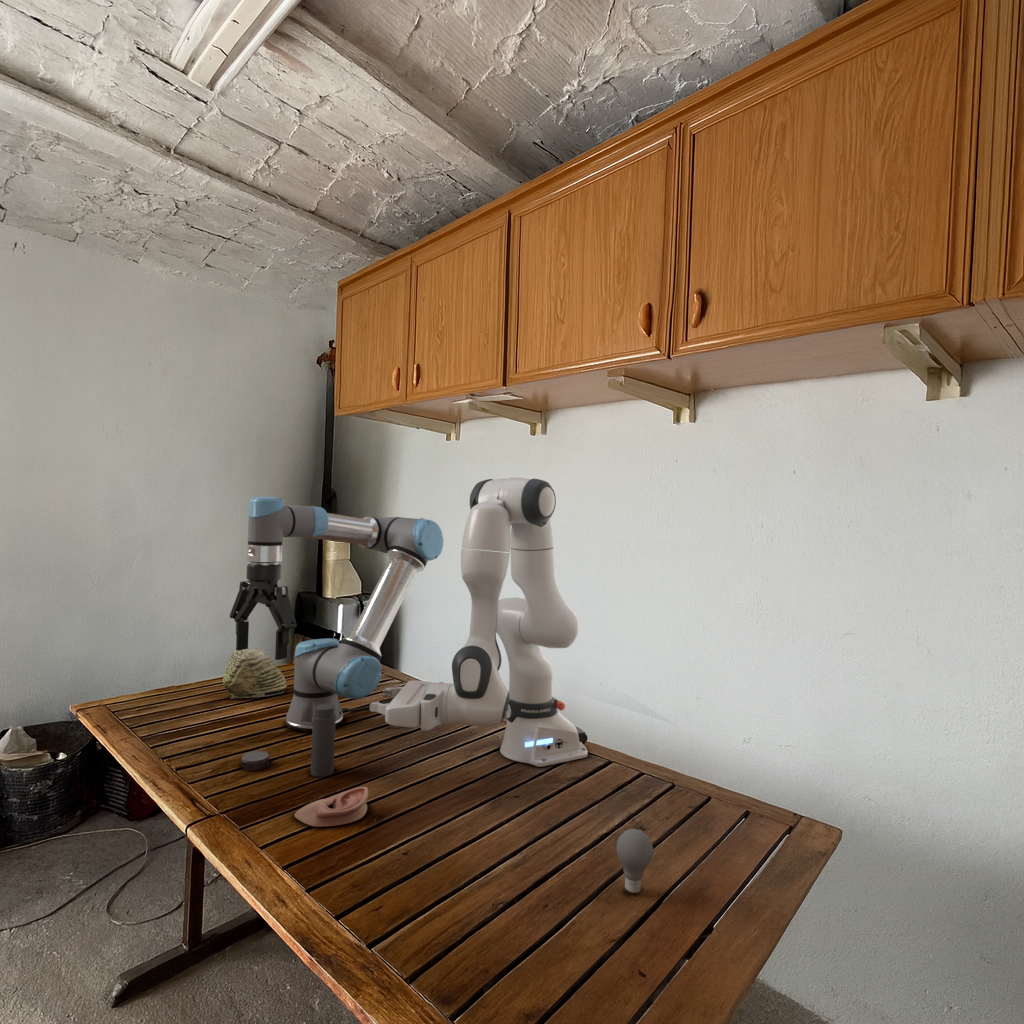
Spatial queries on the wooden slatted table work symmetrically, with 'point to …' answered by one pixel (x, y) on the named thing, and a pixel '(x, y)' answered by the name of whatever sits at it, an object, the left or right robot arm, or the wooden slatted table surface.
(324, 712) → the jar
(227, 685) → the fossil
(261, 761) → the lid
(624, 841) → the light bulb
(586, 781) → the wooden slatted table surface
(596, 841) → the wooden slatted table surface
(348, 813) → the anatomical model
